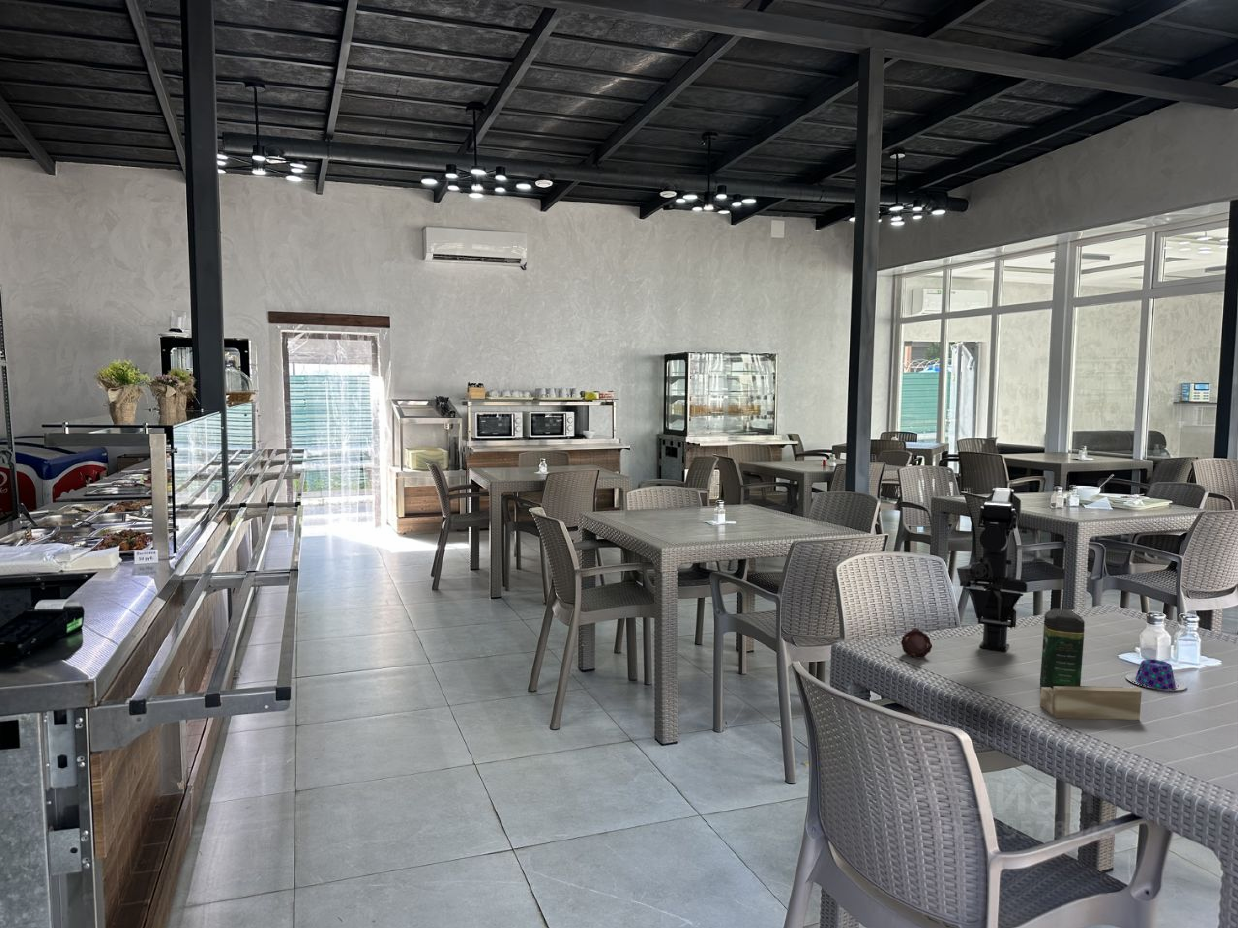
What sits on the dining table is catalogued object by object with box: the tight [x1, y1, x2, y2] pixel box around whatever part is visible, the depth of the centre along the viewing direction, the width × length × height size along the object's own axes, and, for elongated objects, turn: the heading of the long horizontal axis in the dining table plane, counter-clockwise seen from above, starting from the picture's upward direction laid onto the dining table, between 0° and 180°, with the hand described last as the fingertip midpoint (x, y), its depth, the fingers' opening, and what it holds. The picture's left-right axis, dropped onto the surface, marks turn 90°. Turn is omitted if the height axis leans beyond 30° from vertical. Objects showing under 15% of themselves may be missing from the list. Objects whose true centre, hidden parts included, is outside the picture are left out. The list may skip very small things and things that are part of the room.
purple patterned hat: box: [1125, 658, 1187, 692], centre depth 194 cm, size 12×12×5 cm
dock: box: [1039, 685, 1142, 721], centre depth 175 cm, size 7×17×6 cm, turn 89°
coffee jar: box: [1039, 607, 1086, 689], centre depth 186 cm, size 10×8×19 cm
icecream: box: [900, 627, 933, 658], centre depth 211 cm, size 7×7×15 cm
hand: (989, 619), depth 198 cm, fingers open, 9 cm apart
